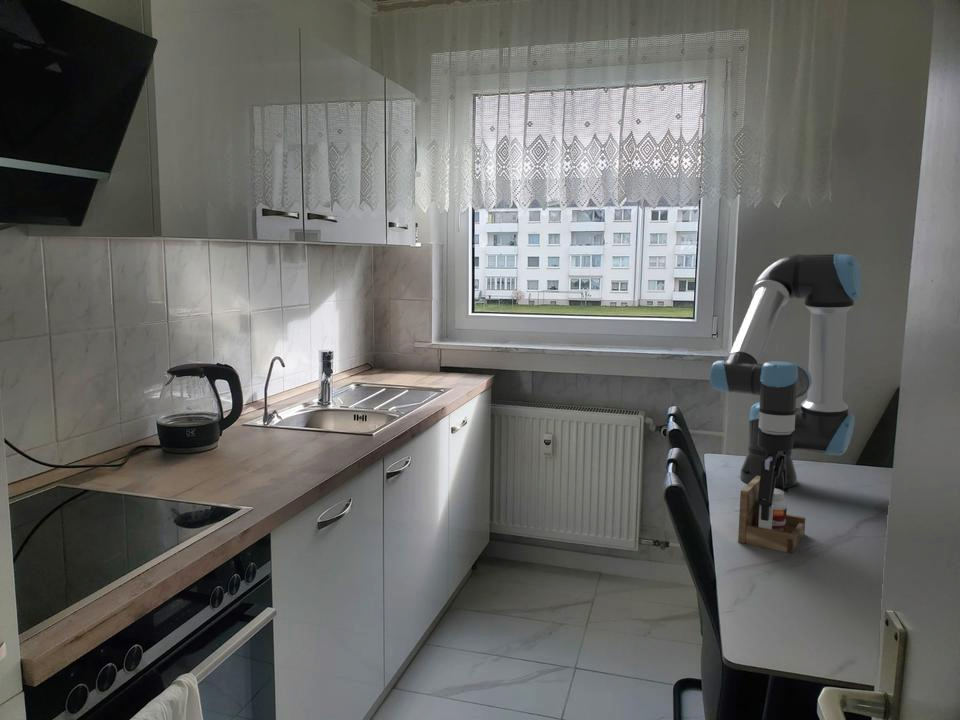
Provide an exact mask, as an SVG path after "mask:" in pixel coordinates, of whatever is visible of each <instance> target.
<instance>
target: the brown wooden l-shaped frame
mask: <svg viewBox="0 0 960 720" xmlns="http://www.w3.org/2000/svg"><path fill="white" fill-rule="evenodd" d="M759 484H760V476H756V477H755V478H754V479H753V480H752V481H750V482H749V483H746V485H745V486H744V487H743V488H742V489H740V495H739V499H740V500H739V515H738V517H739V518H738V519H739V520H738V537H737V542H738V543H740V544H747V545H752V546H756V547H761V548H765V549H766V548H767V549H769V550H770V549H771V550H775V551H780V552H784V553H789V554H793V552H794V550H795V549H796V547H797V546H798V545H799V543H800V542H801V540H802V538H803V537H804V536H805V531H806V517H805V516H804V517H803V516H799V515H795V514H788V513H786V526H785V532H781V531H776V530H771V529H766V528H761V527H756V524H757V510H758V504H756V501H757V500H758V492H759Z"/></svg>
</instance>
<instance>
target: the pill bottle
mask: <svg viewBox="0 0 960 720" xmlns="http://www.w3.org/2000/svg"><path fill="white" fill-rule="evenodd" d="M783 499H784V500H783ZM763 500H766V499H763ZM759 506H760V505H758V510H757V524H756V527H758V525H759ZM772 506H773V518H772V530H776V531H781V532H785V526H786V514H787V513H788V512H787V511H788V510H787V509H788V504H787V502H786V501H785V492H784V491H782V490H780V489H776V488H775V489H774V495H773V500H772Z"/></svg>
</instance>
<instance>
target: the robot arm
mask: <svg viewBox="0 0 960 720" xmlns="http://www.w3.org/2000/svg"><path fill="white" fill-rule="evenodd" d="M861 270H862V269H861V266H860V264H859V261H858V259H857V258H856V257H855V256H854V255H852V254H840V253H828V254H827V253H826V254H825V253H824V254H823V253H822V254H818V253H817V254H816V253H815V254H799V253H798V254H790V255H787V256H784V257H782V258H780V259H778V260H776V261H774V262H773V263H772V264H770V265H769V266H768V267H766V268H765V269H764V270H763V271H762V273H760V275H759V276H758V278H757V279H756V280H755V282H754V284H753V287H752V290H751V294H752V296H751V297H752V299H751V302H750V304H749V306H748V309H747V311H746V313H745V316H744V318H743V320H742V323H741V325H740V327H739V329H738V332H737V333H736V334H737V335H736V337H735V338H734V341H733V344H732V346H731V349H730V350H729V353H728V356H727V357H726V359H725V360H724V359H723V360H716V361H714V362H713V364H712V365H711V367H710V371H709V381H710V386H711V387H712V389H713V390H716V391H719V392H726V393H735V394H746V395H747V394H748V395H754V396H755V395H756V396H759V402H756V403H754V404H753V405H752V406H751V407H750V410H749V411H750V414H749V418H748V421H749V422H748V423H749V424H748V445H747V446H748V447H747V454H746V456H745V459H744V460H743V461H744V462H743V464H742V466H741V469H740V476H739V479H740V480H741V481H742V482H744V483H746V484H748V483H749V482H750V481H752V480H753V479H754V478H755V477H756V476H760V484H759V492H758V500H757V501H756V504H758V505H760V506H759V525H758V527H761V528H766V529H771V530H772V518H773V506H772V500H773V495H774V489H775V488H776V489H780V490H782V491H784V493H789V488H792V487H795V486H796V485H797V484H798V483H797V482H798V475H797V471H796V469H795V465H794V462H793V461H794V460H793V458H792V455H793V454H792V450H797V451H803V452H810V453H816V454H822V455H826V456H828V455H831V456H842V455H844V454H845V453H846V451H847V450H848V448H849V446H850V443H851V440H852V436H853V433H854V427H855V420H856V419H855V418H856V417H855V415H854V414H852V413H851V412H850V413H849V406H848V404H847V403H846V402H844V400H843V392H844V391H843V390H844V373H845V372H844V369H845V353H846V349H845V348H846V334H847V333H846V332H847V329H846V328H847V313H848V312H849V311H850V310H851V309H852V308H853V307H854V303H855V302H854V301H858V300H860V299H861V297H862V288H863V279H862V277H863V276H862V271H861ZM790 299H804V306H805V307H806V309H807V310H808V311H809V312H810V321H809V322H810V323H809V325H810V326H809V345H808V346H809V347H808V349H809V350H808V369H807V368H805V367H804V366H802V365H799V364H796V363H793V362H788V361H775V360H773V361H767V362H764V363H760V362H761V359H762V357H763V355H764V351H765V350H766V347H767V345H768V342H769V340H770V337H771V335H772V332H773V329H774V328H775V327H774V326H775V324H776V322H777V319H778V316H779V315H780V312H781V309H782V307H784V306H786V305H787V304H788V302H789V300H790ZM806 393H807V398H806V399H804V400H803V401H802V402H801V404H800V407H796V405H797V399H798V398H800V397H802V396H804V395H805V394H806ZM763 499H766V500H763ZM783 500H784V501H785V498H784V499H783Z"/></svg>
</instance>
